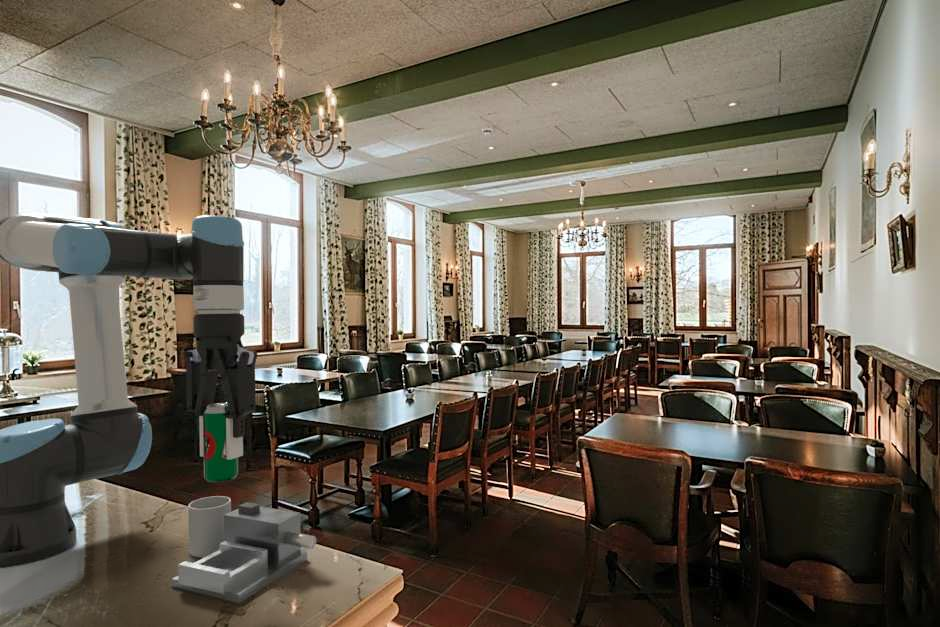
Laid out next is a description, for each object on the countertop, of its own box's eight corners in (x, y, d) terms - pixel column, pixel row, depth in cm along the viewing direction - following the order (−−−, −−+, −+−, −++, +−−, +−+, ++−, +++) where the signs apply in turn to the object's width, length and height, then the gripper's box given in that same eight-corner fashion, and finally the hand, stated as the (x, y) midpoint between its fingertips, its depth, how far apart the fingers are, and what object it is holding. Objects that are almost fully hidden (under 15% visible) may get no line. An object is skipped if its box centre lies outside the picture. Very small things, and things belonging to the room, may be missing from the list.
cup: (199, 562, 98) (199, 512, 98) (175, 547, 104) (174, 500, 104) (238, 548, 104) (238, 501, 104) (213, 535, 110) (212, 490, 110)
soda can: (229, 483, 87) (228, 407, 87) (198, 483, 87) (196, 407, 87) (243, 474, 92) (242, 402, 92) (213, 474, 92) (212, 402, 92)
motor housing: (167, 590, 88) (167, 529, 88) (246, 548, 104) (245, 496, 104) (255, 611, 82) (254, 546, 82) (324, 563, 97) (324, 508, 97)
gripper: (158, 313, 90) (161, 457, 90) (244, 311, 83) (247, 466, 83) (197, 313, 97) (199, 446, 97) (279, 311, 90) (281, 454, 90)
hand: (221, 455), depth 90 cm, fingers closed on soda can, 5 cm apart
